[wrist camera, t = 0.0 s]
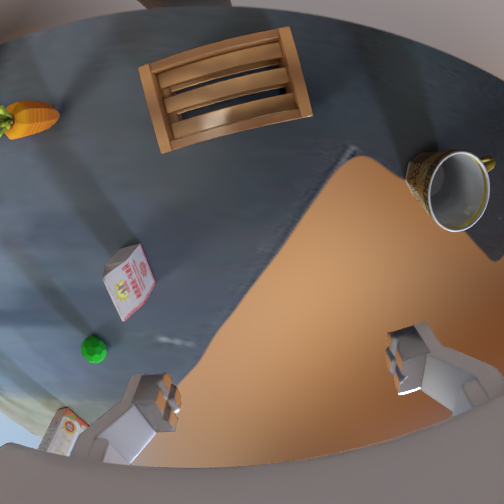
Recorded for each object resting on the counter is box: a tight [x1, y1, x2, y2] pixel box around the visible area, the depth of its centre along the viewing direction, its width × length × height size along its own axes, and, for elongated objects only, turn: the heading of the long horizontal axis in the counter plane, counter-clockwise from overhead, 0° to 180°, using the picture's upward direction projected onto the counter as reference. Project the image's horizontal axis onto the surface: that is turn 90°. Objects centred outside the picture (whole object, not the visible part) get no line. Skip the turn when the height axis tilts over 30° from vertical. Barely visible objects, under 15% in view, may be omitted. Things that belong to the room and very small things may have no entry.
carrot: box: [0, 101, 60, 139], centre depth 30 cm, size 5×5×15 cm
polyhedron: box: [81, 336, 107, 363], centre depth 51 cm, size 5×5×5 cm
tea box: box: [102, 243, 156, 321], centre depth 42 cm, size 4×7×10 cm, turn 13°
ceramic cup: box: [405, 150, 495, 232], centre depth 35 cm, size 13×10×10 cm
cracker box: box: [38, 408, 89, 456], centre depth 57 cm, size 14×6×21 cm, turn 29°
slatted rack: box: [138, 26, 313, 154], centre depth 32 cm, size 10×16×9 cm, turn 104°
